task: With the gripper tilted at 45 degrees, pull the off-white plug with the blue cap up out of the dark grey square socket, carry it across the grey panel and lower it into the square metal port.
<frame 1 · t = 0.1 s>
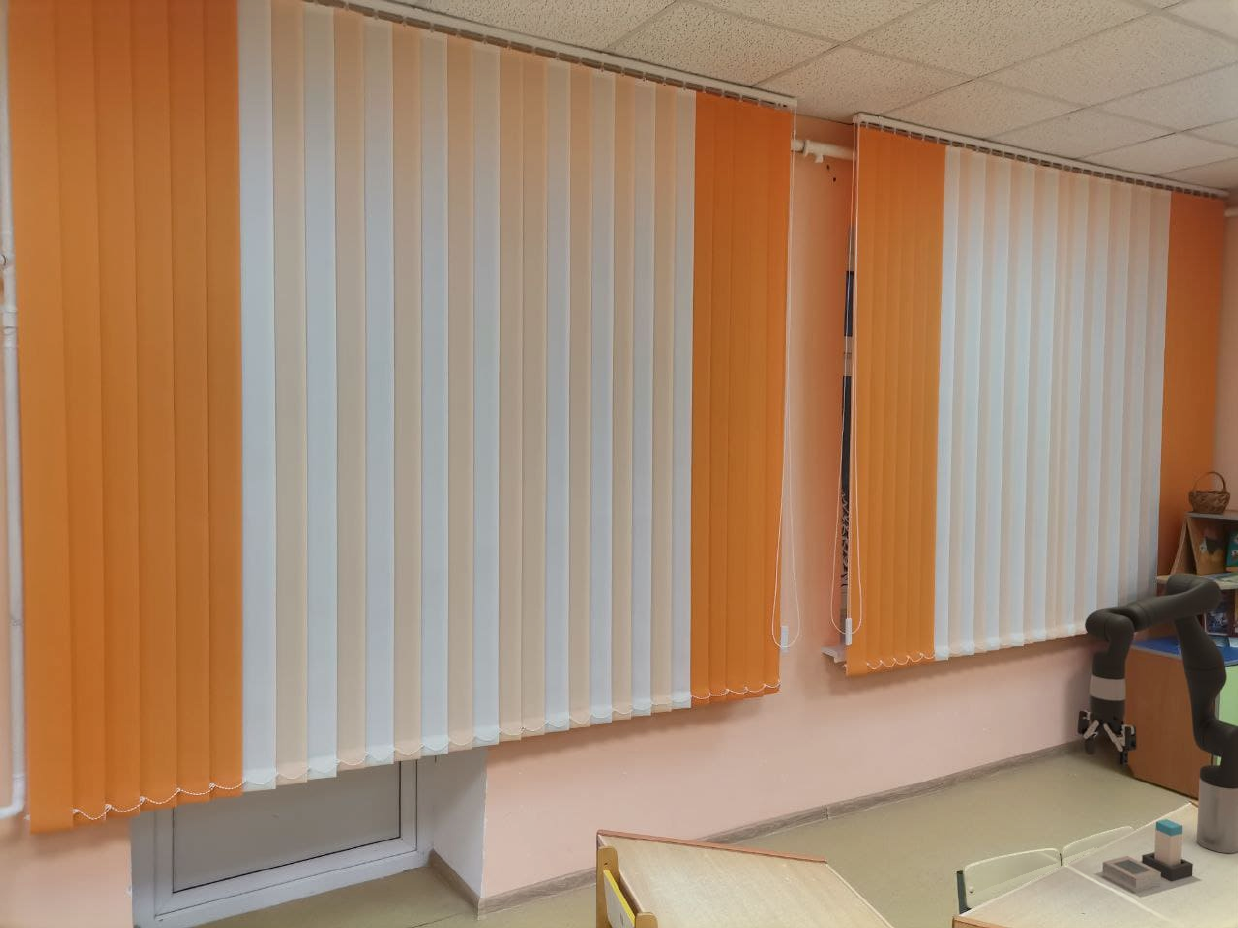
hand: (1105, 759, 216), 29 cm above the table, tool pointing down, fingers open, 8 cm apart
plug: (1166, 871, 218), point 1 cm above the table, touching panel
panel: (1147, 880, 215), on the table
port: (1130, 885, 213), resting on panel
dark grey square socket: (1166, 875, 218), resting on panel
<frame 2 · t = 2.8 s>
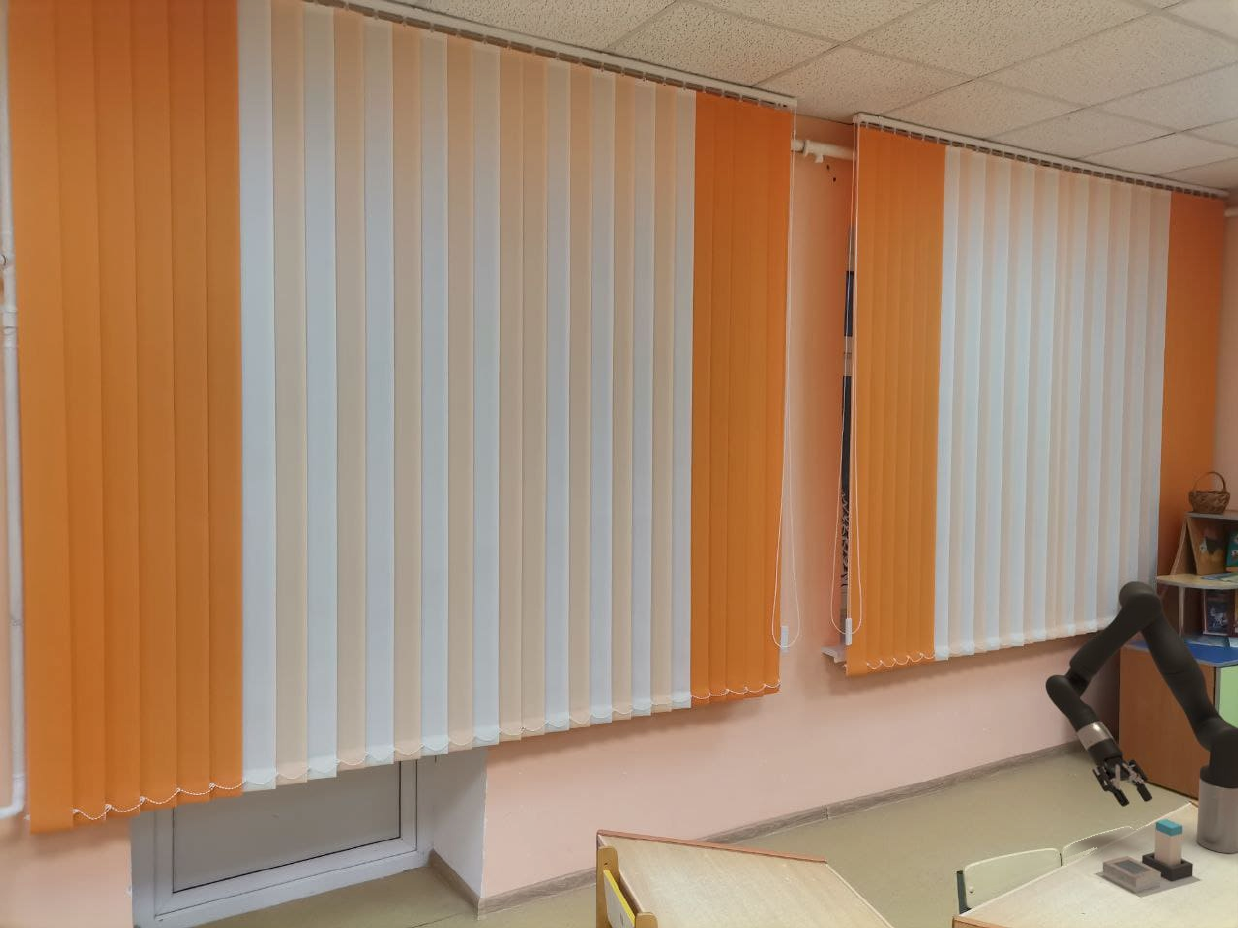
hand: (1137, 802, 225), 15 cm above the table, tool tilted 45°, fingers open, 8 cm apart
nothing on the table moved.
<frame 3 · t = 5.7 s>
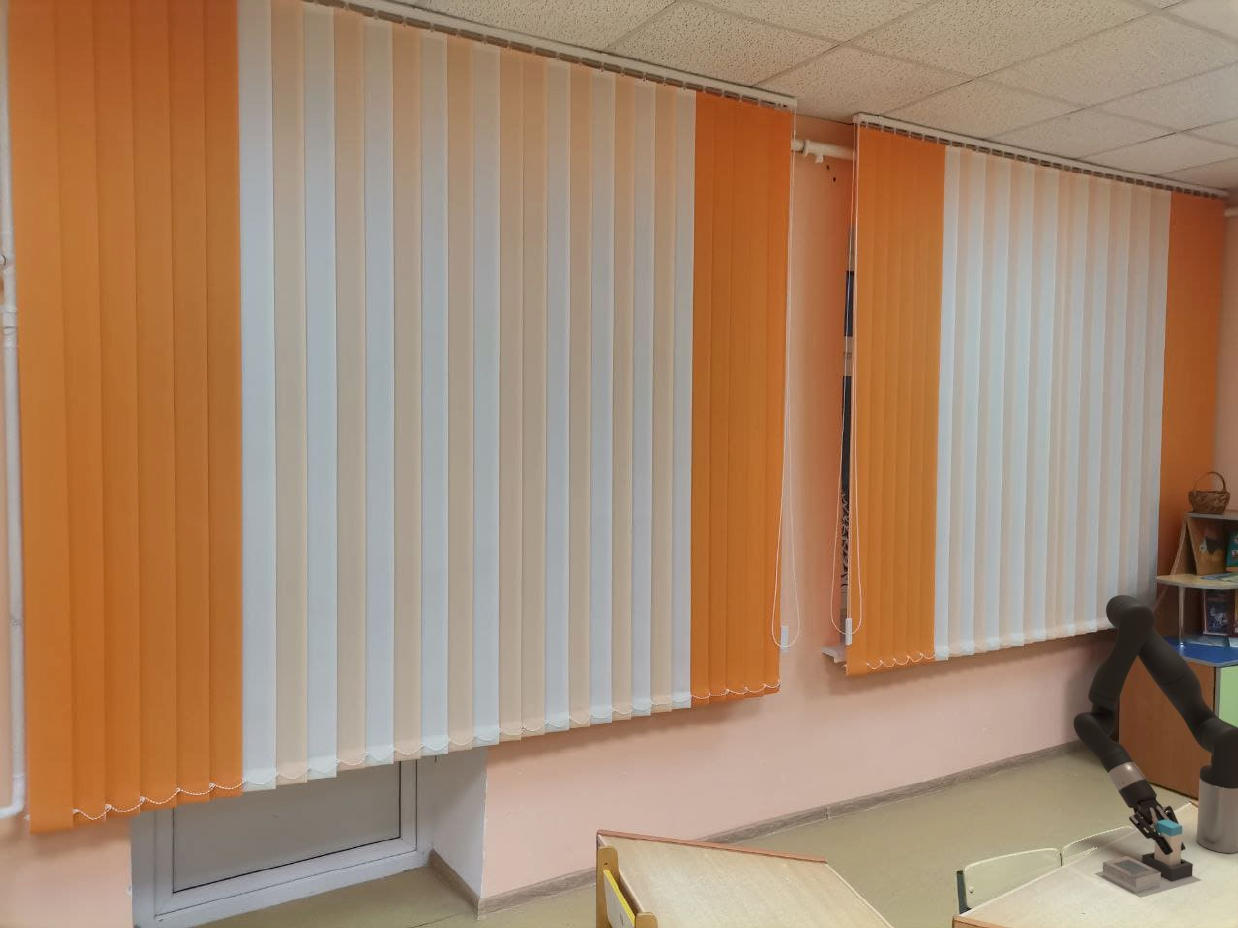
hand: (1175, 851, 216), 7 cm above the table, tool tilted 45°, fingers closed on plug, 4 cm apart
plug: (1166, 871, 218), point 1 cm above the table, touching gripper, panel
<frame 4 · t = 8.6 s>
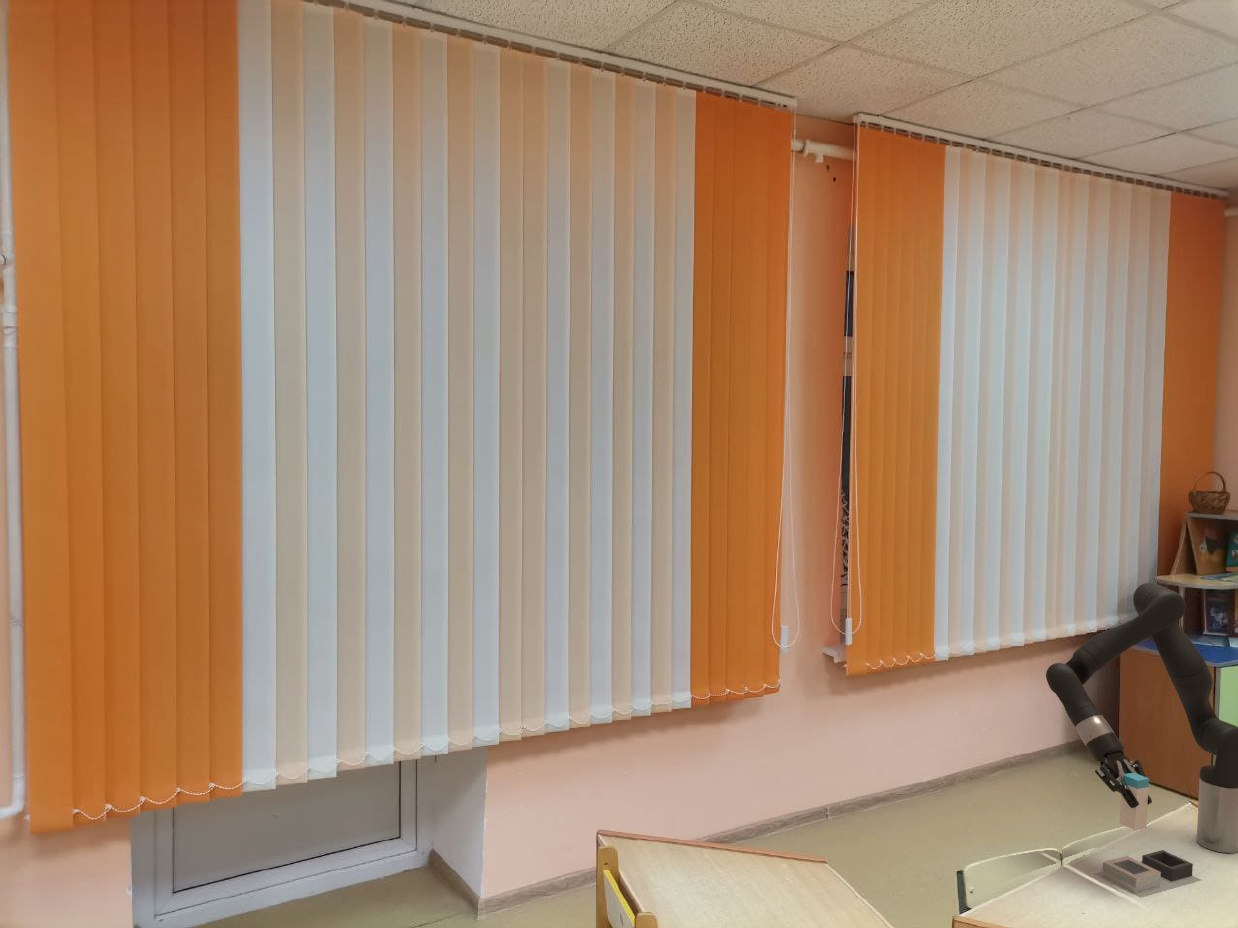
hand: (1141, 804, 211), 20 cm above the table, tool tilted 45°, fingers closed on plug, 4 cm apart
plug: (1132, 825, 213), point 15 cm above the table, touching gripper
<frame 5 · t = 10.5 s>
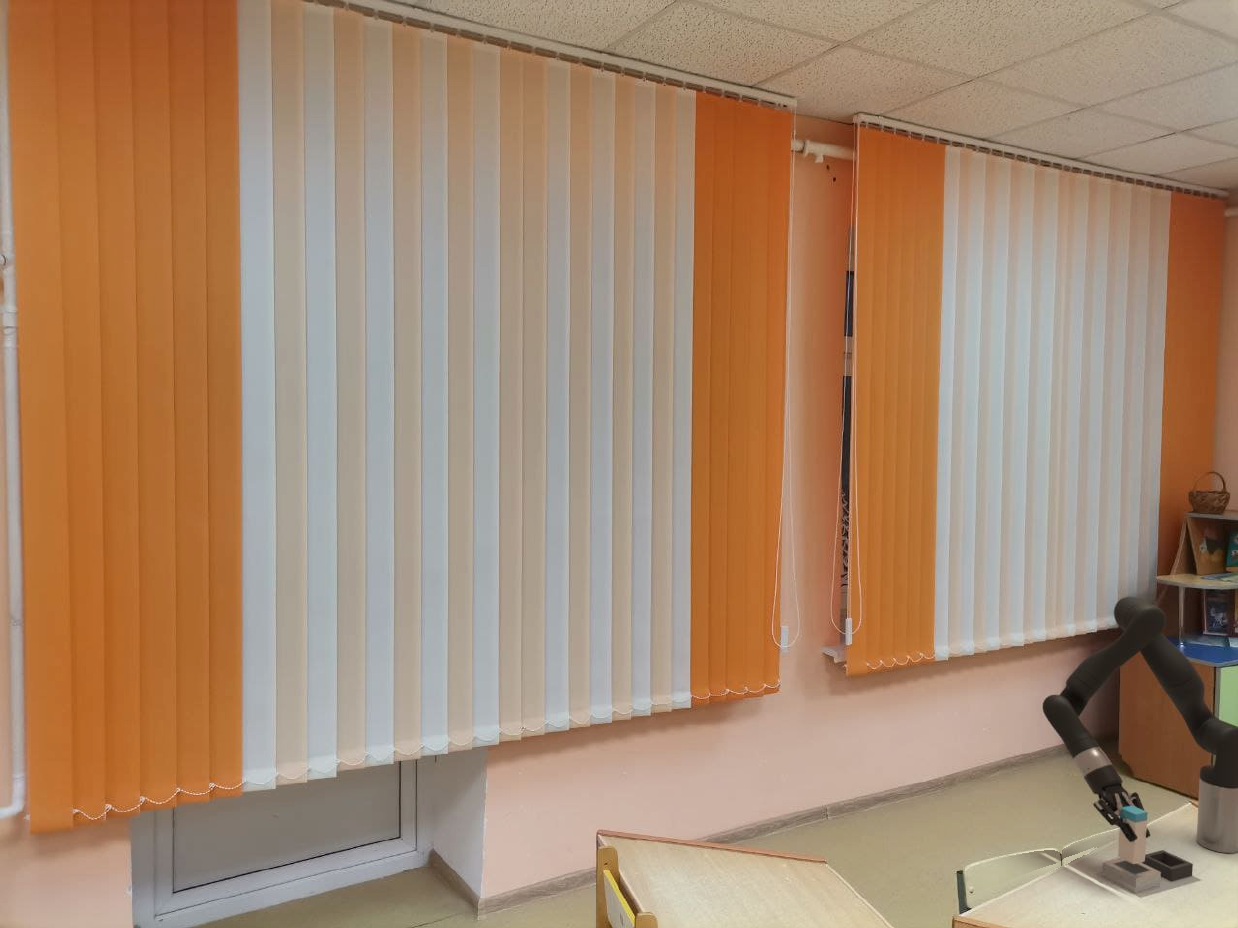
hand: (1140, 838, 211), 12 cm above the table, tool tilted 45°, fingers closed on plug, 4 cm apart
plug: (1131, 858, 213), point 6 cm above the table, touching gripper
when the fingers open (8 cm above the table, at t = 11.9 s): plug drops 1 cm, resting on panel.
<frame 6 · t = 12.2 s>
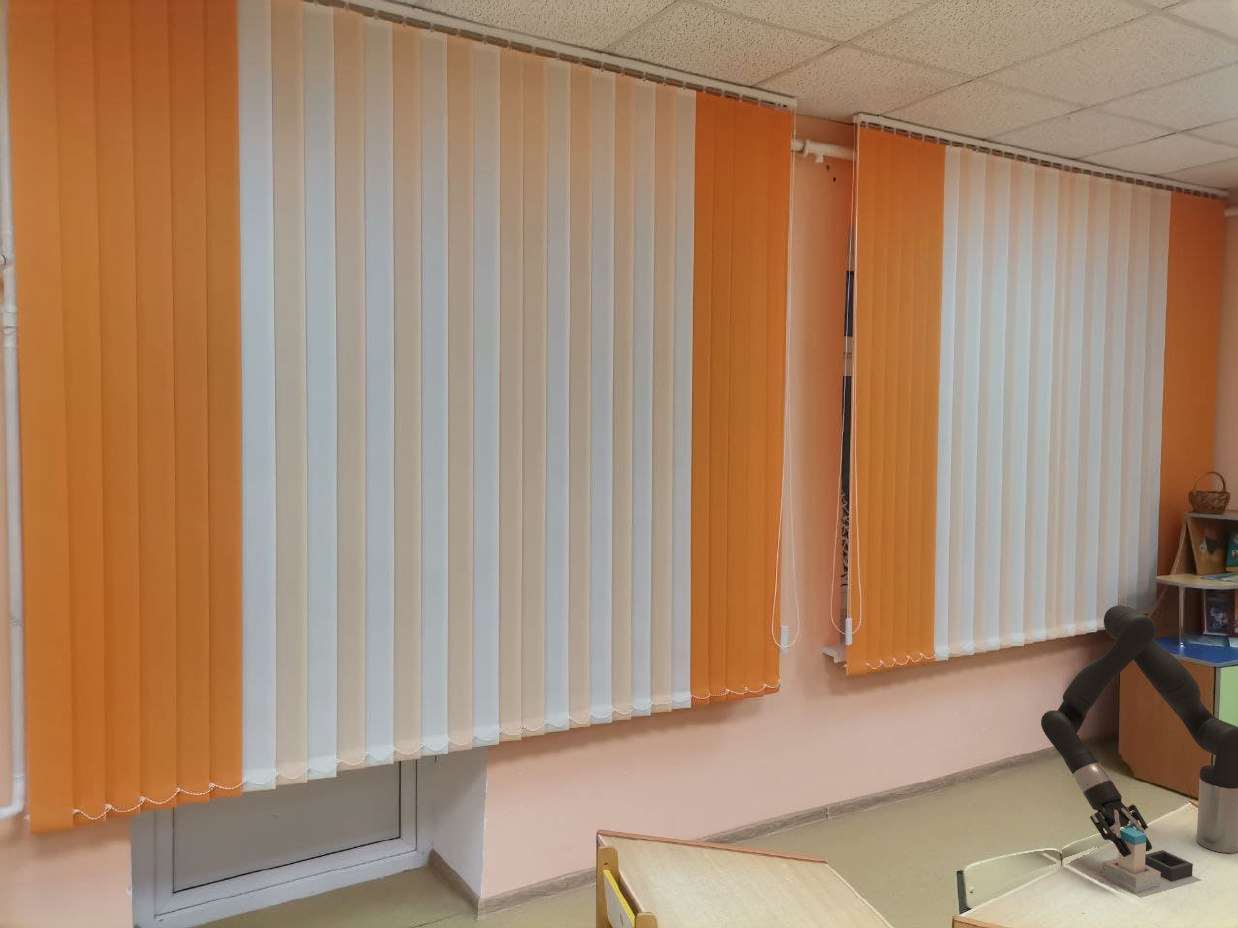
hand: (1138, 852, 211), 9 cm above the table, tool tilted 45°, fingers open, 7 cm apart
plug: (1130, 880, 213), point 1 cm above the table, touching panel
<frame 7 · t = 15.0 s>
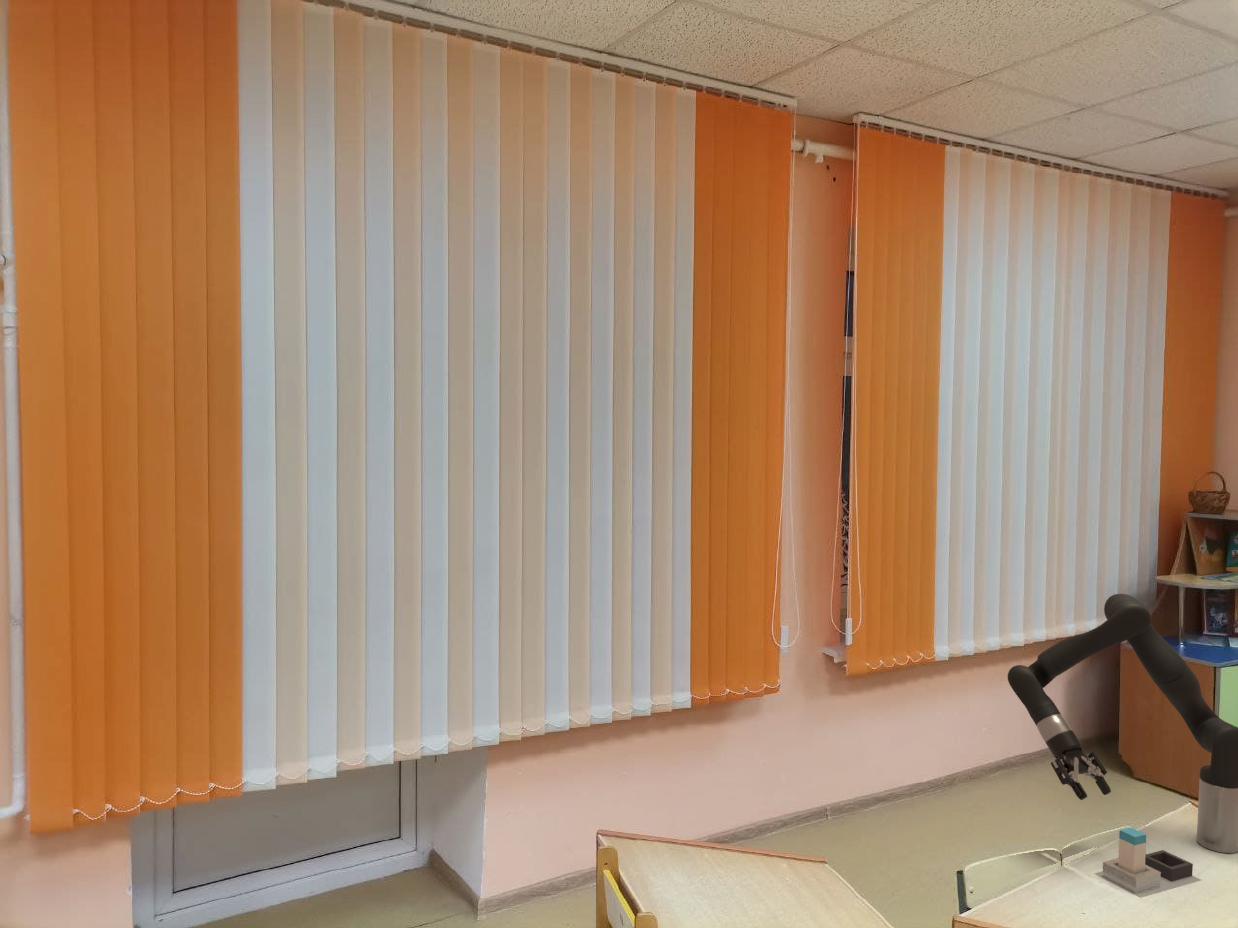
hand: (1096, 795, 221), 18 cm above the table, tool tilted 45°, fingers open, 8 cm apart
nothing on the table moved.
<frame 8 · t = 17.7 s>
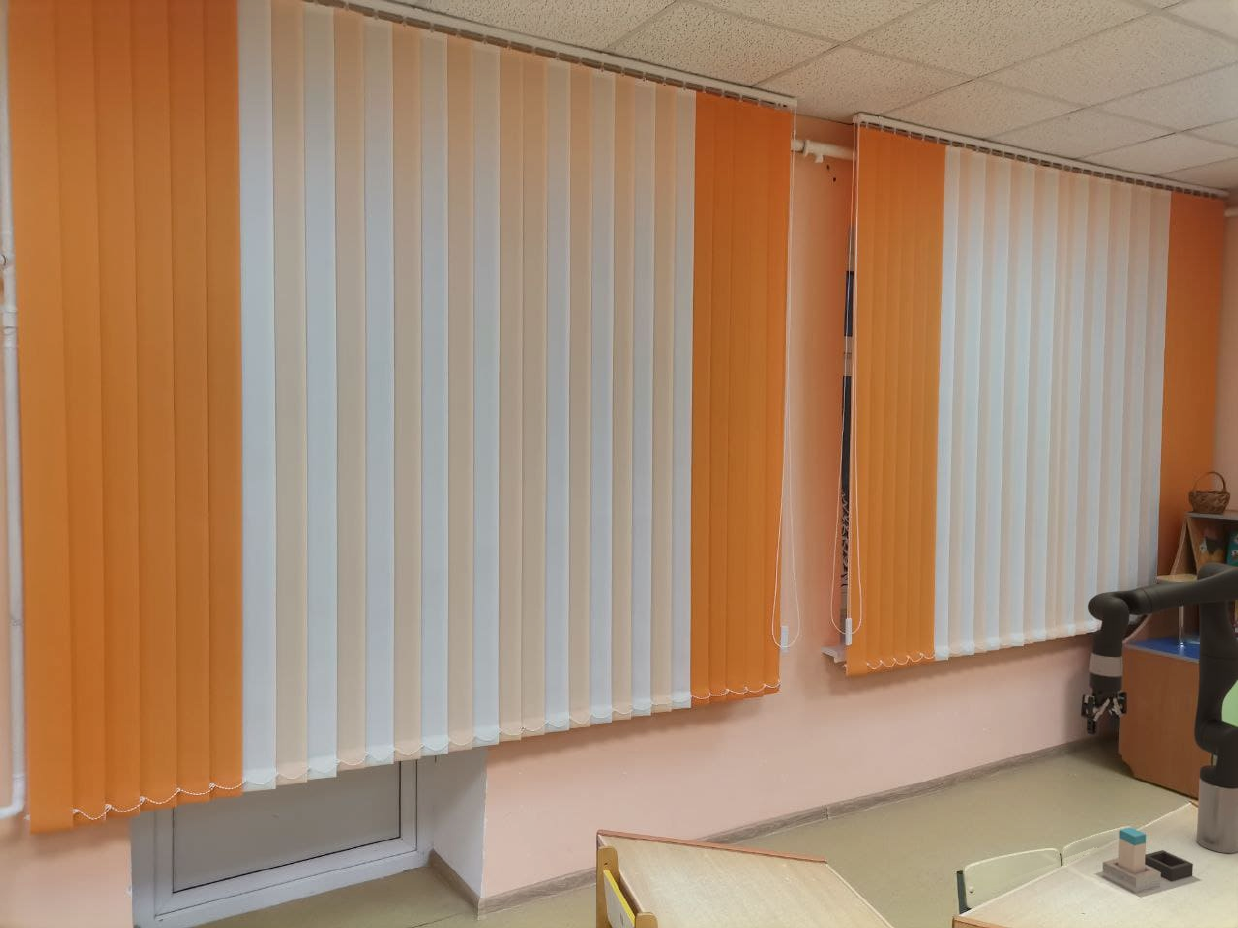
hand: (1103, 731, 233), 30 cm above the table, tool pointing down, fingers open, 8 cm apart
nothing on the table moved.
at the end: plug 0.1 cm off-centre on the port, point 1.0 cm above the port's base; plug tilted 0°; the gripper is holding nothing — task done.
